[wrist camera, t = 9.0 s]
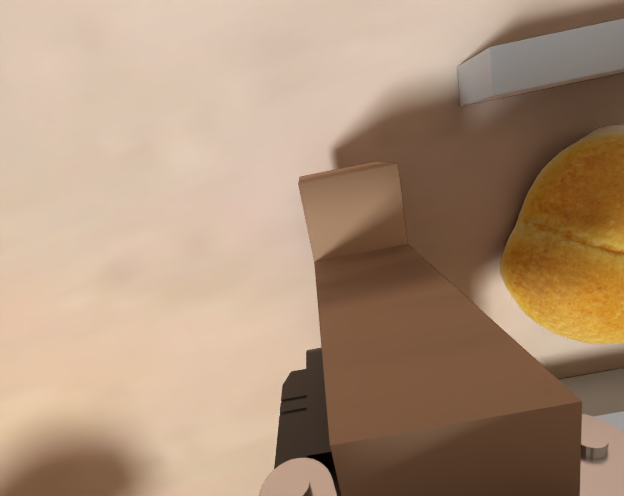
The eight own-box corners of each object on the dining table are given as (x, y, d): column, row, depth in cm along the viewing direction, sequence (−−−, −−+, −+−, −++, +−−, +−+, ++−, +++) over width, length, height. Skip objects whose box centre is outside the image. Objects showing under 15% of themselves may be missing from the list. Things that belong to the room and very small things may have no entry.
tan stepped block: (299, 176, 13) (284, 249, 3) (377, 160, 13) (588, 189, 3) (347, 409, 16) (411, 799, 6) (410, 398, 16) (571, 777, 6)
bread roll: (471, 306, 17) (521, 352, 13) (542, 115, 14) (629, 99, 10) (626, 338, 17) (719, 392, 13) (718, 159, 15) (863, 160, 11)
